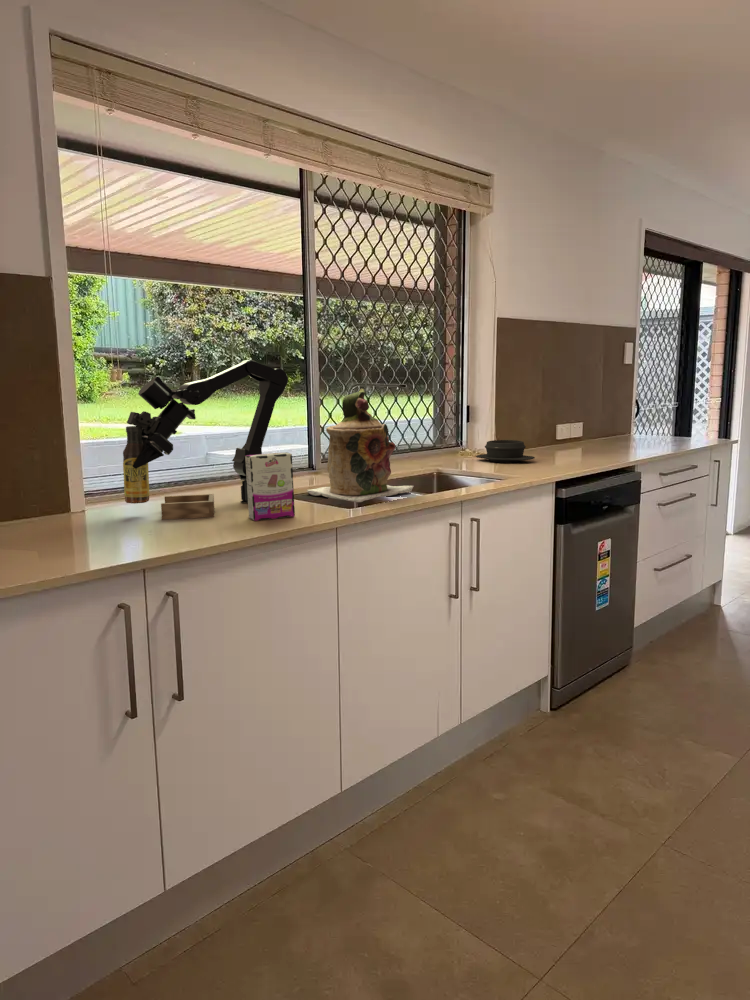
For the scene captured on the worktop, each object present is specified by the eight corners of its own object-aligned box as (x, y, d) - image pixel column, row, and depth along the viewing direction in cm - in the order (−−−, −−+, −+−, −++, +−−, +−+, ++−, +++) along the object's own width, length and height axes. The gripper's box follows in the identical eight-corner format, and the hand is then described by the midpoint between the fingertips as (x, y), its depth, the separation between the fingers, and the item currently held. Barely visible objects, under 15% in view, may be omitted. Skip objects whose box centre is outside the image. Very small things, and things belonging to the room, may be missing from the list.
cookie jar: (303, 495, 215) (299, 389, 210) (357, 485, 234) (355, 388, 228) (363, 503, 199) (361, 389, 194) (416, 492, 218) (416, 387, 212)
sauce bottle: (124, 505, 181) (117, 427, 177) (125, 501, 187) (119, 426, 183) (151, 503, 183) (145, 426, 179) (151, 499, 189) (145, 425, 185)
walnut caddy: (214, 508, 195) (213, 493, 195) (214, 516, 183) (213, 501, 182) (165, 510, 193) (164, 496, 192) (162, 519, 180) (161, 504, 180)
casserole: (467, 462, 294) (467, 442, 292) (487, 457, 309) (487, 438, 307) (523, 465, 280) (524, 444, 278) (541, 460, 295) (542, 440, 293)
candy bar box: (288, 513, 186) (286, 451, 183) (295, 517, 181) (293, 453, 178) (247, 518, 180) (244, 454, 178) (253, 521, 176) (250, 456, 173)
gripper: (134, 399, 190) (95, 443, 185) (157, 401, 175) (115, 448, 170) (165, 427, 196) (128, 470, 191) (190, 430, 181) (150, 477, 176)
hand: (130, 466), depth 182 cm, fingers closed on sauce bottle, 6 cm apart
